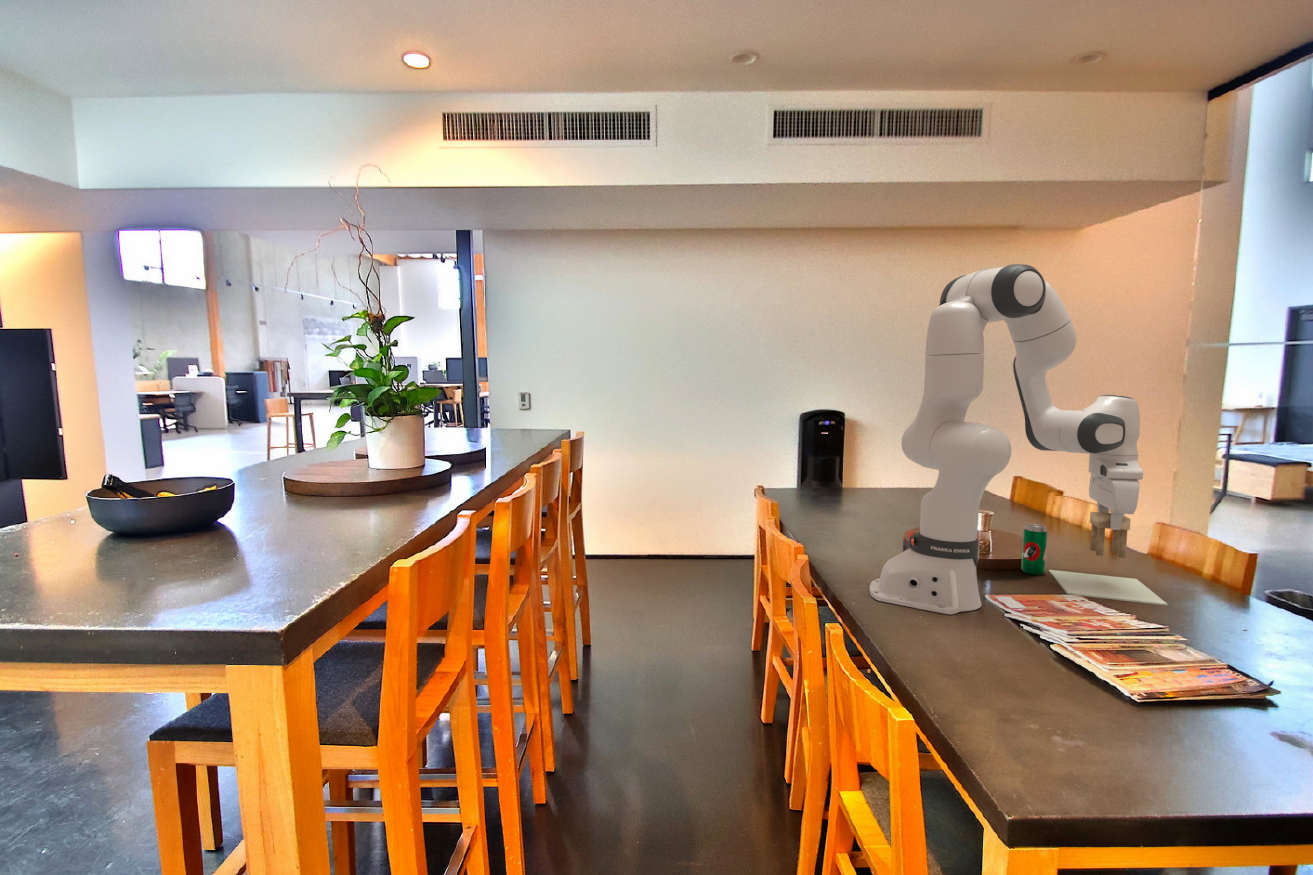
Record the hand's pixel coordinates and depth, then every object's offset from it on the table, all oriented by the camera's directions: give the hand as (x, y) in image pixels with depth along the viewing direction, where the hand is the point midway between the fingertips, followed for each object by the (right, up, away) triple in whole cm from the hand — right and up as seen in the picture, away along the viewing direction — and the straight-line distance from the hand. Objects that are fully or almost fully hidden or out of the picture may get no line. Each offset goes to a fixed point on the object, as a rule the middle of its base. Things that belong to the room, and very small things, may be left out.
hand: (1109, 525), depth 137 cm
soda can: (-10, -14, +12) cm, 21 cm away
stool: (0, -7, +1) cm, 7 cm away
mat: (0, -15, +1) cm, 15 cm away
